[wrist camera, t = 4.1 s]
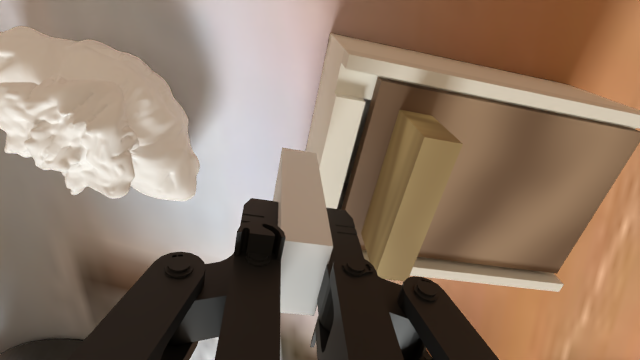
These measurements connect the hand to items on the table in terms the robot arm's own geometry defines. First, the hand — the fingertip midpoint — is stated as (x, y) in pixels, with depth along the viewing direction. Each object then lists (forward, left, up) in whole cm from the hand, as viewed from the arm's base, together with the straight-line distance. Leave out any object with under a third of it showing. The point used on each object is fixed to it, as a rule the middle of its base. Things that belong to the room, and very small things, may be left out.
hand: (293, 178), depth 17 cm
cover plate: (+10, 0, -2) cm, 10 cm away
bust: (-10, -1, -9) cm, 13 cm away
